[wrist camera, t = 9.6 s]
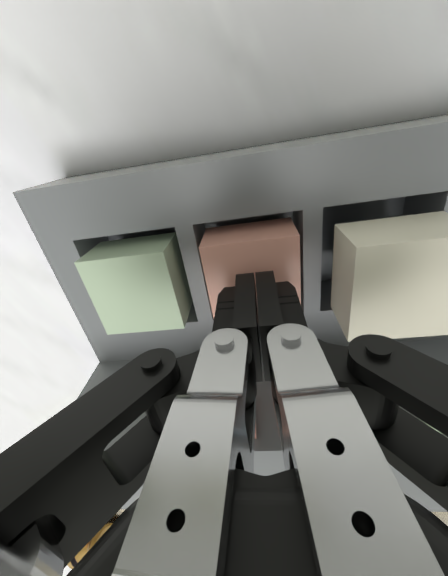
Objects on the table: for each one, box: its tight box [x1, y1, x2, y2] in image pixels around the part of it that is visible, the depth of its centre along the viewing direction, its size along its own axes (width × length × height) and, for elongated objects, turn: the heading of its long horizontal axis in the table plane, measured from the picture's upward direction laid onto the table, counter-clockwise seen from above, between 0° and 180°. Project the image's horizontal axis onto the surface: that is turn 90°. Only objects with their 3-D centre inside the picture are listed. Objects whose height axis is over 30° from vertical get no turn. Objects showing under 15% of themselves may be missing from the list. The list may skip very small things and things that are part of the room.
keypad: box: [13, 114, 448, 512], centre depth 13 cm, size 25×15×10 cm, turn 99°
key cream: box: [331, 211, 448, 342], centre depth 11 cm, size 4×4×4 cm
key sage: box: [74, 232, 193, 335], centre depth 14 cm, size 4×4×4 cm
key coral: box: [199, 217, 301, 318], centre depth 13 cm, size 4×4×4 cm
